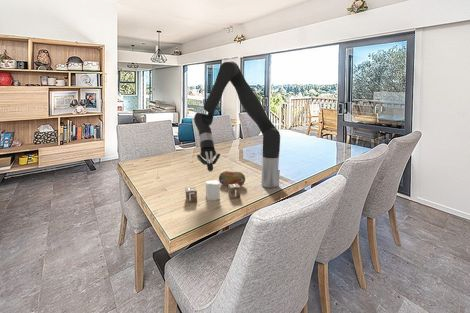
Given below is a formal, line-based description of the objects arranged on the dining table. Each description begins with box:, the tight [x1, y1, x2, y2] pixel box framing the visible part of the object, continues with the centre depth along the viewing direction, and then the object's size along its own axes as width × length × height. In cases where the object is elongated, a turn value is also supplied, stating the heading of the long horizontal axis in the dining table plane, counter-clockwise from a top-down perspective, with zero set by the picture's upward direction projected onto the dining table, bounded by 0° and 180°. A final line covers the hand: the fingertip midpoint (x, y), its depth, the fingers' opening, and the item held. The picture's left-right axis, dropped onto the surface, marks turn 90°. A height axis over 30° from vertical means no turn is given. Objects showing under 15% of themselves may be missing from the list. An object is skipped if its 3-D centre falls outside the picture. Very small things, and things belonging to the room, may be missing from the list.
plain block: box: [205, 180, 221, 201], centre depth 136 cm, size 6×6×8 cm
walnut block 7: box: [185, 186, 198, 204], centre depth 132 cm, size 5×5×6 cm
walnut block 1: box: [227, 184, 241, 200], centre depth 138 cm, size 5×5×6 cm
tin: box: [218, 170, 246, 187], centre depth 153 cm, size 15×3×8 cm, turn 76°
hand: (210, 170), depth 139 cm, fingers closed
